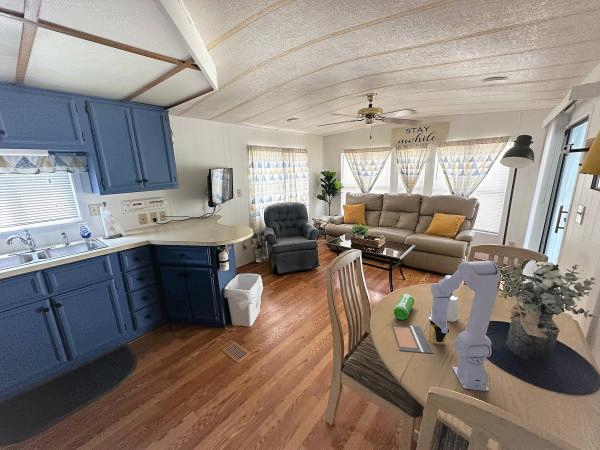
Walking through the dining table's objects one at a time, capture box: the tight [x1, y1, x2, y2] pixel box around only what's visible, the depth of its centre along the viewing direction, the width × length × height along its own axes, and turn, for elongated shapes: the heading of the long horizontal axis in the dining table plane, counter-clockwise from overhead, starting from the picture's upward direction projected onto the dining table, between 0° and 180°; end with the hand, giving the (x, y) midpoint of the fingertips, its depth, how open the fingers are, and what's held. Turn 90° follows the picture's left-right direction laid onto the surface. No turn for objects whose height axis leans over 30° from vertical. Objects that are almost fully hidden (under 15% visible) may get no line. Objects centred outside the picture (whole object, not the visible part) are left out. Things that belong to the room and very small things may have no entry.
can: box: [446, 294, 460, 323], centre depth 124 cm, size 6×6×12 cm
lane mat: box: [391, 324, 434, 354], centre depth 111 cm, size 18×13×1 cm
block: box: [428, 324, 447, 345], centre depth 109 cm, size 5×5×6 cm
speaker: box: [393, 293, 415, 321], centre depth 131 cm, size 18×7×8 cm, turn 145°
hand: (436, 337), depth 109 cm, fingers closed on block, 5 cm apart
